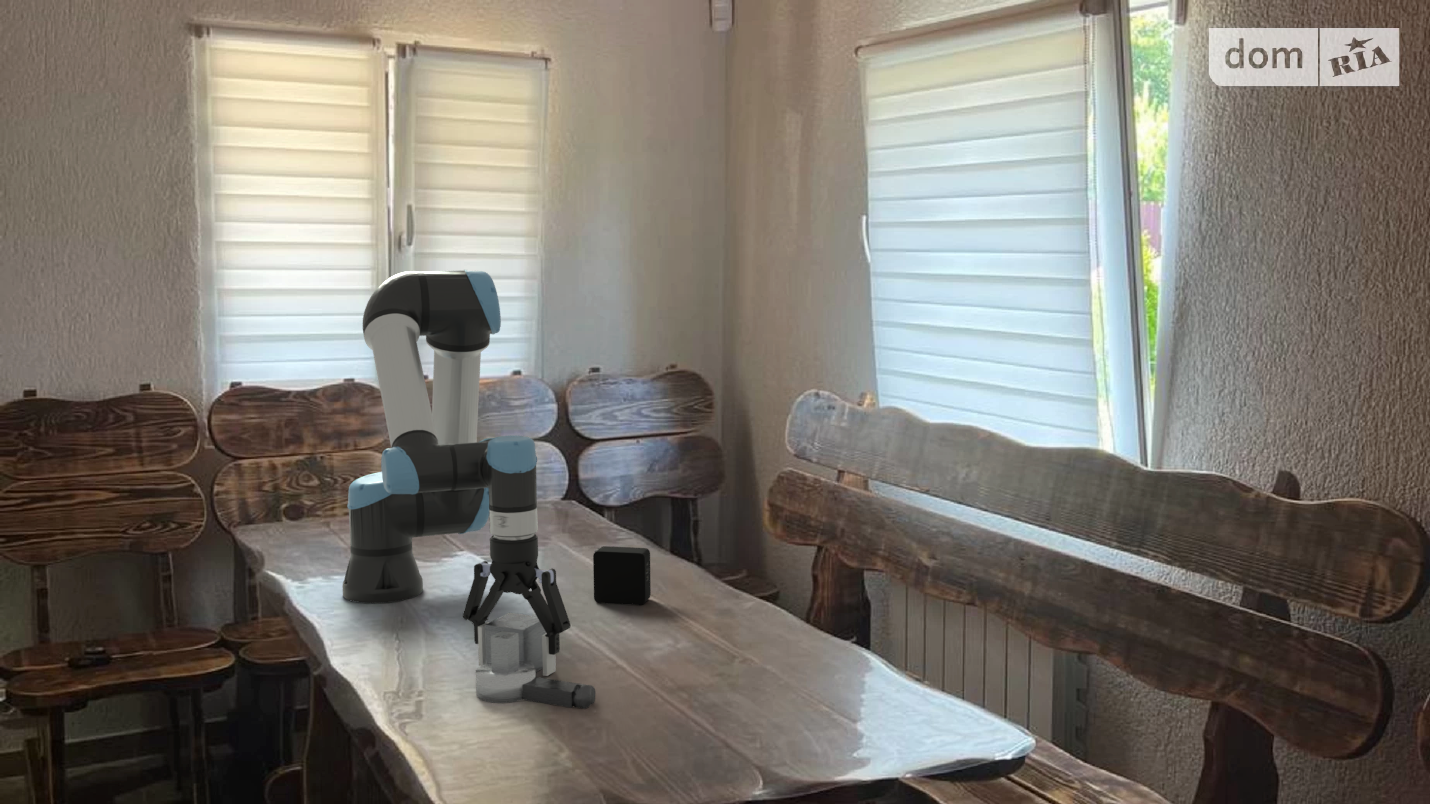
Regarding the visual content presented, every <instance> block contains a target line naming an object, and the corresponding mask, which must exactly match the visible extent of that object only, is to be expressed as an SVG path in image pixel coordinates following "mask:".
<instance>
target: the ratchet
mask: <svg viewBox="0 0 1430 804" xmlns="http://www.w3.org/2000/svg"><path fill="white" fill-rule="evenodd" d="M474 673H475V695H476V697H477V698H478V699H479V700H482V701H484V702H488V703H498V704H501V703H502V704H504V703H505V704H506V703H515V702H520V701H528V702H535V703H540V704H547V705H555V706H560V707H563V708H564V707H565V708H578V709H584V710H585V709H587V708H589V707H590V706H592V705H593V704H594V703H595V701H596V689H595V687H594V686H593V685H591V684H584V683H577V682H571V681H565V680H557V679H551V678H545V677H544V678H543V677H538V676H536V673H537V672H536V673H535V666H534V665H532V664H531V663H528V662H524V661H519V637H518V633H512V632H505V631H501V632H499V633H497V634H495V635H493V636H491V663H487V664H484V665H482V666H479V667H477V668H475V672H474Z"/></svg>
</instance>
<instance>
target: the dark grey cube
mask: <svg viewBox="0 0 1430 804" xmlns="http://www.w3.org/2000/svg"><path fill="white" fill-rule="evenodd" d="M488 622H489V621H488ZM501 631H505V632H512V633H518V637H519V661H524V662H528V663H531V664H532V665H534V666H535V673H537V672H539V671H541V670H543V655H542V635H544V634H546V631H545V630H544V628H543V626H542V624H541V623H540V621H539V619H538V617H537V616H536V615H530V614H529V615H528V614H523V613H522V614H521V613H513V612H508V613H506V614H504V615H501V616H500V617H497V618H496V619H493V620H492V621H490V622H489V623H487V624H485V640H486V664H487V663H491V636H493V635H495V634H497V633H499V632H501Z"/></svg>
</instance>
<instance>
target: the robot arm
mask: <svg viewBox="0 0 1430 804" xmlns="http://www.w3.org/2000/svg"><path fill="white" fill-rule="evenodd" d="M500 307H501V306H500V301H499V296H498V292H497V289H496V285H495V282H494V280H493V278H492V276H491V275H490V274H489V273H488V272H486V271H482V270H468V269H463V270H432V271H431V270H430V271H429V270H426V271H425V270H422V271H416V270H413V271H411V270H410V271H403V272H399V273H397V274H394V275H392V276H390V277H389V278H388V279H386V280H385V281H383V282H382V283H381V284H380V285H378V287H377V288H376V289H375V290H374V292H373V293H372V294H371V296H370V298H369V299H368V300H367V303H366V306H365V309H364V311H363V316H362V332H363V338H364V342H365V345H366V346H367V347H368V348H369V349H370V350H372V353H373V358H374V365H375V369H376V375H377V381H378V386H379V392H380V396H381V402H382V406H383V413H384V417H385V421H386V422H385V424H386V427H387V428H386V429H387V433H388V438H389V443H390V447H388V448H385V449H384V450H383V451H382V454H381V459H380V460H381V463H380V464H381V465H380V467H381V471H378V472H375V473H371V474H370V473H369V474H366V475H364V476H361V477H359V478H356V479H355V480H354V481H352V482H351V483H350V484H349V487H348V496H347V498H348V499H347V501H348V502H347V505H346V506H347V509H348V517H349V519H348V520H349V521H348V522H349V545H350V548H349V549H350V555H349V560H348V565H347V567H346V572H345V575H344V580H343V582H342V587H341V588H342V596H344V597H345V598H344V597H343V598H344V599H346V600H348V601H350V600H351V602H355V603H360V604H361V603H363V604H381V603H382V604H383V603H392V602H393V603H394V602H400V601H404V600H408V599H412V598H414V597H417V596H419V595H420V594H422V593H423V591H424V582H423V581H424V579H423V576H422V575H421V573H420V570H419V567H418V564H417V561H416V558H415V555H414V552H413V538H422V537H433V536H442V535H443V536H444V535H454V534H456V535H457V534H458V535H464V534H466V533H472V532H478V531H480V530H481V529H482V528H484V527H485V526H486V524H487V523H488V521H489V533H490V534H491V535H492V536H491V537H490V538H489V557H490V559H491V563H489V562H488V561H487V560H484V561H481V562H478V563H475V564H474V566H473V581H472V584H471V586H470V590H469V593H468V597H467V601H466V603H465V607H464V609H463V612H462V619H463V620H464V621H469V622H471V623H472V625H473V633H474V635H473V636H474V637H473V638H474V643H475V644H476V645H478V649H477V650H478V666H479V667H480V666H482V665H484V664H486V640H485V624H487V623H489V621H488V620H489V617H490V615H491V613H492V612H493V610H494V608H495V607H496V605H497V604H498V602H499V600H500V599H501V597H502V595H503V594H504V593H506V594H509V593H513V594H516V595H522V597H523V599H524V600H526V601H528V604H529V605H530V608H531V609H532V611H533V612H534V613H535V616H537V617H538V619H539V621H540V623H541V624H542V626H543V628H544V630H545V631H546V634H544V635H542V655H543V669H542V676H543V677H548V676H549V675H551V674H553V673H554V672H556V671H557V669H556V668H557V665H556V663H557V661H556V660H557V659H556V654H558V653H559V652H560V646H561V645H560V635H561V633H564V632H566V631H567V630H569V629H570V628H571V626H572V625H571V621H570V618H569V616H568V613H567V611H566V608H565V604H564V602H563V599H562V595H561V592H560V590H559V586H558V584H557V571H556V569H555V568H549V569H540V568H539V565H538V558H539V537H538V536H537V534H536V533H537V532H538V530H539V528H538V525H539V523H538V503H537V502H538V498H537V495H538V493H537V491H538V489H537V488H538V487H537V486H538V485H537V462H538V457H537V453H536V443H535V440H534V439H533V438H531V437H530V436H529V437H528V436H524V435H502V436H495V437H488V438H483V439H482V440H479V441H478V440H477V439H478V421H479V420H478V419H479V398H480V380H481V379H480V376H481V357H482V352H483V351H484V350H486V348H488V347H489V345H490V343H491V342H490V339H491V335H495V334H498V333H499V332H500V330H501V327H502V326H501V325H502V320H501V318H502V317H501V308H500ZM420 336H421V337H422V336H425V342H426V344H427V345H428V346H429V347H430V348H431V349H433V371H432V372H433V376H432V377H433V378H432V402H431V403H432V404H431V403H430V398H429V395H428V388H427V384H426V380H425V376H424V371H423V365H422V361H421V356H420V352H419V348H418V343H417V342H418V340H419V339H420ZM431 405H432V406H431ZM431 407H432V408H431ZM490 575H491V576H492V577H493V580H494V581H493V583H492V585H491V587H490V588H489V592H488V594H487V595H486V596H485V599H484V600H483V596H484V594H485V591H486V588H487V583H488V581H489V576H490ZM537 579H539V580H538V582H539V583H540V584H541V587H540V584H538V582H537ZM541 588H542V589H541ZM541 591H542V592H543V594H544V596H543V594H542V592H541ZM482 600H483V602H482Z"/></svg>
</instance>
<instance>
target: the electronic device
mask: <svg viewBox="0 0 1430 804" xmlns="http://www.w3.org/2000/svg"><path fill="white" fill-rule="evenodd" d="M592 559H593V561H592V563H593V567H592V568H593V571H592V572H593V599H594V601H595V602H596V603H598V604H610V605H612V604H613V605H626V606H629V605H631V606H642V605H645V603H646V602H647V601H648V600H649V599H650V598H651V594H652V593H651V589H652V588H651V551H650V550H649V548H646V547H628V546H627V547H626V546H611V545H609V546H607V545H606V546H604V545H603V546H601V547H597V549H595V550H594V553H593V558H592Z"/></svg>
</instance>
